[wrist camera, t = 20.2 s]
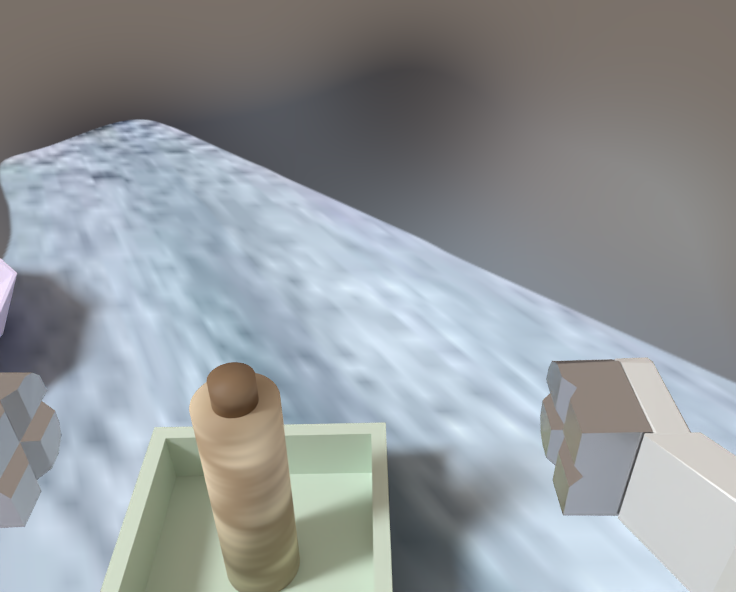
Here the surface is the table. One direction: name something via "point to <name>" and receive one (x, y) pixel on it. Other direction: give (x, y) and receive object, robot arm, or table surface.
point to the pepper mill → (247, 476)
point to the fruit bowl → (5, 291)
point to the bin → (311, 508)
